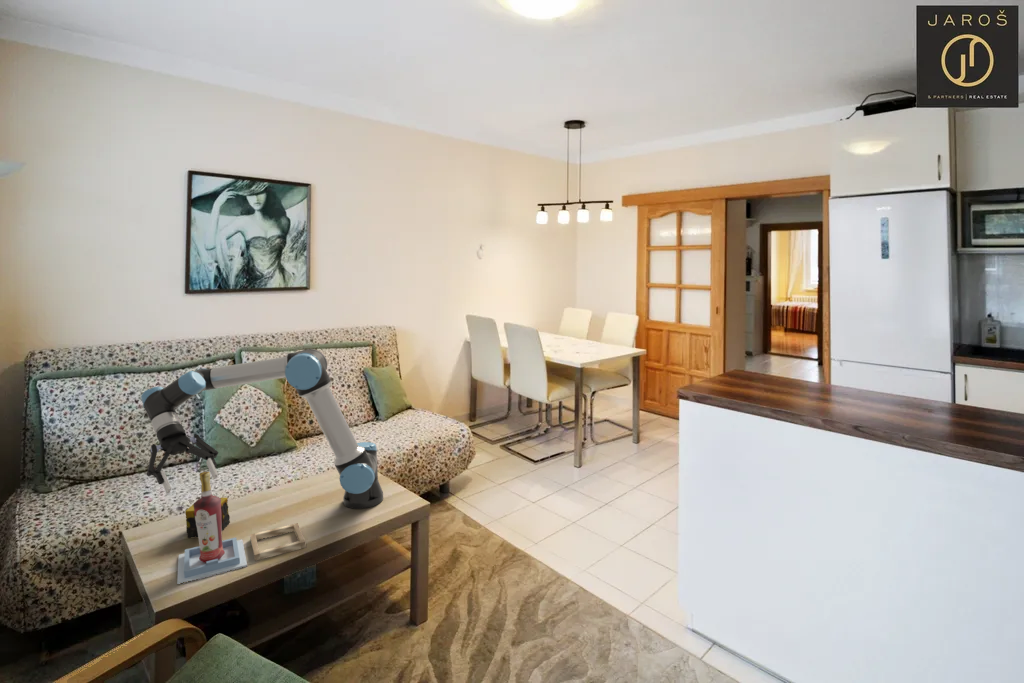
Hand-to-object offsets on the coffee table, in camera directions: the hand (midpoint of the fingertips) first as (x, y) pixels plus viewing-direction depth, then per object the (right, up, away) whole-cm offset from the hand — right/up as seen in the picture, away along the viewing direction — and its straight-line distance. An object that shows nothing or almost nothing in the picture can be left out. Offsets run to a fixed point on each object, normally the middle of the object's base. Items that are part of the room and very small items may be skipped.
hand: (193, 483), depth 162 cm
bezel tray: (+7, -24, -1) cm, 25 cm away
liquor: (+7, -23, -1) cm, 24 cm away
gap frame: (+23, -22, +9) cm, 33 cm away
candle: (-6, -22, +18) cm, 29 cm away
